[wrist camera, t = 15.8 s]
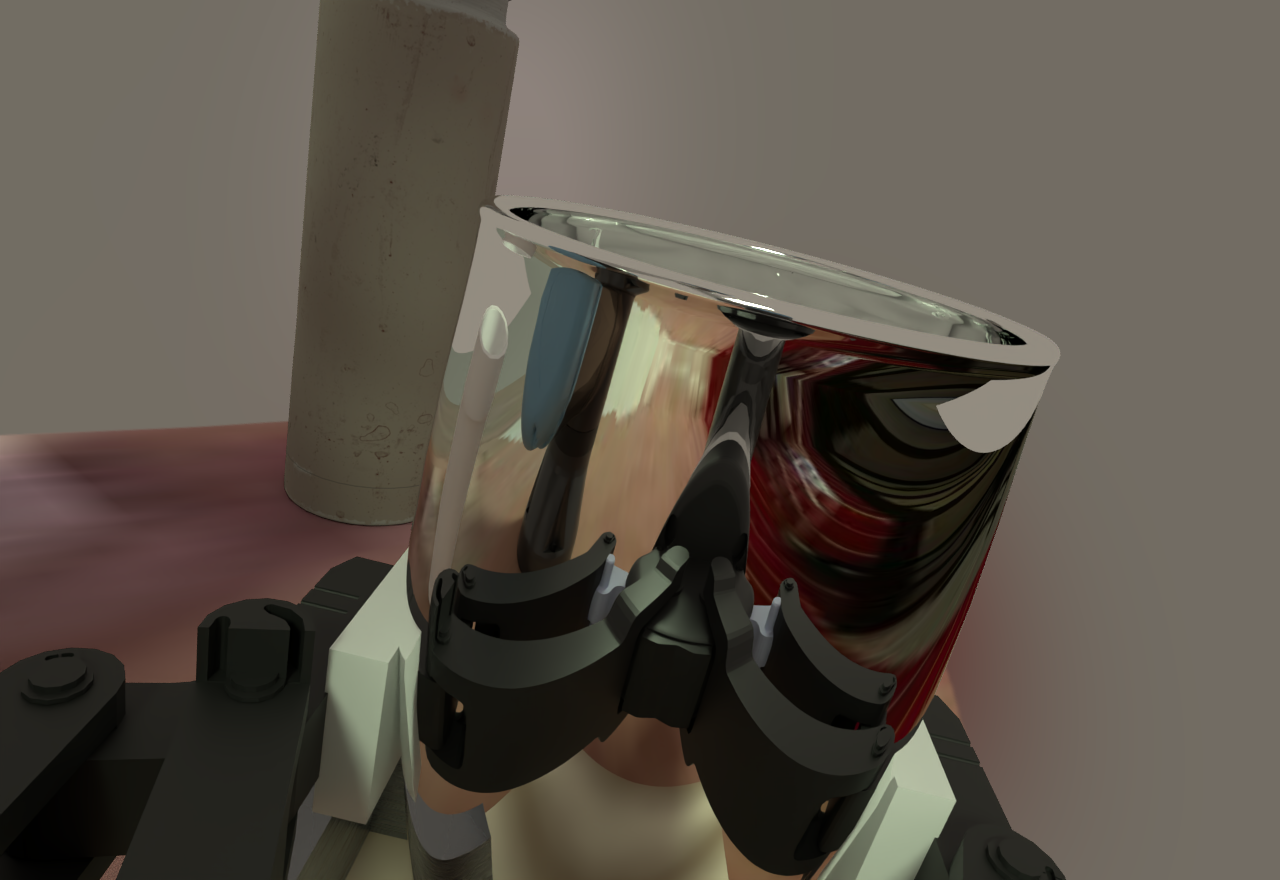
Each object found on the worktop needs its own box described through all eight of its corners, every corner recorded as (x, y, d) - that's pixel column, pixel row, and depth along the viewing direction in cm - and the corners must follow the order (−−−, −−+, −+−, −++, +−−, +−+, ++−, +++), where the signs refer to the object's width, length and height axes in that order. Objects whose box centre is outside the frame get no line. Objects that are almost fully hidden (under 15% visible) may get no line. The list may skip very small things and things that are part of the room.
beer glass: (330, 927, 15) (425, 166, 10) (640, 874, 18) (836, 256, 13) (326, 1452, 9) (545, 277, 4) (787, 1254, 12) (1246, 396, 7)
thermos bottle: (388, 446, 44) (457, -107, 35) (478, 504, 40) (584, -104, 31) (252, 471, 38) (291, -197, 28) (342, 542, 34) (423, -210, 24)
